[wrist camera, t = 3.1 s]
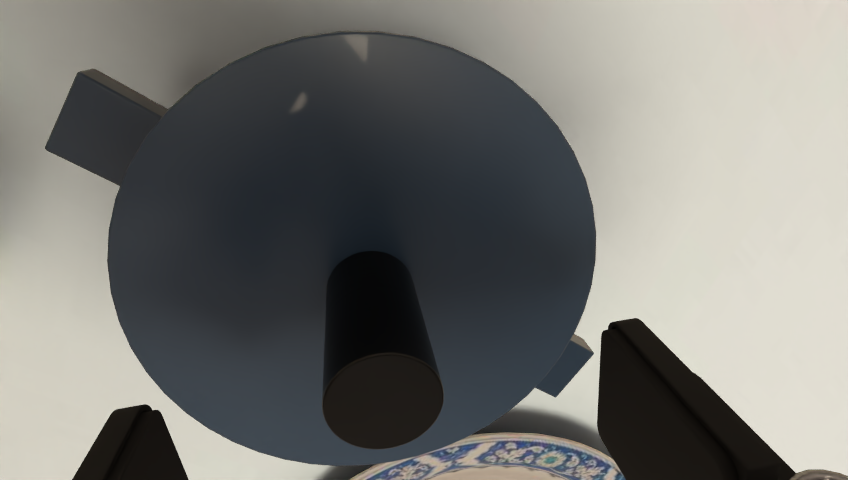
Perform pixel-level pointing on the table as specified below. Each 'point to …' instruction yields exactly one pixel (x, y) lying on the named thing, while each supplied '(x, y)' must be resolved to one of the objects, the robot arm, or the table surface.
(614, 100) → the table surface
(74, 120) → the pot
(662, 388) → the robot arm
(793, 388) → the table surface
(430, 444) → the pot lid
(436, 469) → the ceramic plate
